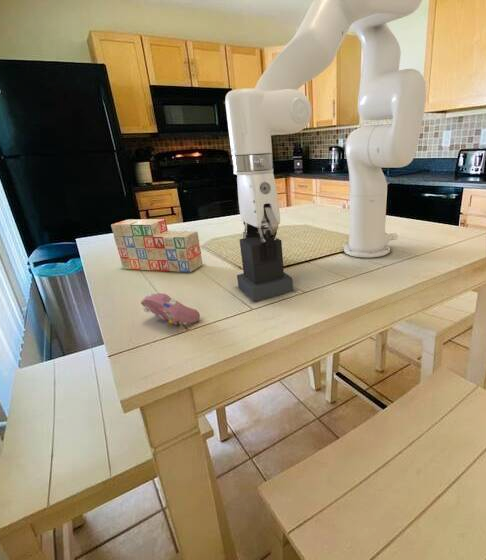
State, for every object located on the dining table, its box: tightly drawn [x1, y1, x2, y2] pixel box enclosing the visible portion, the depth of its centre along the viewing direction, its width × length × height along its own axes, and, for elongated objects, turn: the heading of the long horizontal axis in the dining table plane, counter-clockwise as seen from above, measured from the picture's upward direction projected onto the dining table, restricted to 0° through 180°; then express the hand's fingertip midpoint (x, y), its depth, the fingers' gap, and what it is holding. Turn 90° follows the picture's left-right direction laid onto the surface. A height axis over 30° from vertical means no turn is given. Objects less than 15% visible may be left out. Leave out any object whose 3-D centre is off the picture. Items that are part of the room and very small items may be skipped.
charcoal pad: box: [241, 257, 285, 285], centre depth 70 cm, size 6×6×4 cm
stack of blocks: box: [110, 218, 204, 273], centre depth 88 cm, size 21×6×12 cm, turn 73°
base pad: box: [236, 272, 294, 302], centre depth 72 cm, size 9×9×3 cm
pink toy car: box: [140, 292, 201, 326], centre depth 60 cm, size 10×5×7 cm, turn 56°
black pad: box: [239, 236, 284, 266], centre depth 69 cm, size 6×6×4 cm
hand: (261, 255), depth 69 cm, fingers closed on black pad, 6 cm apart
